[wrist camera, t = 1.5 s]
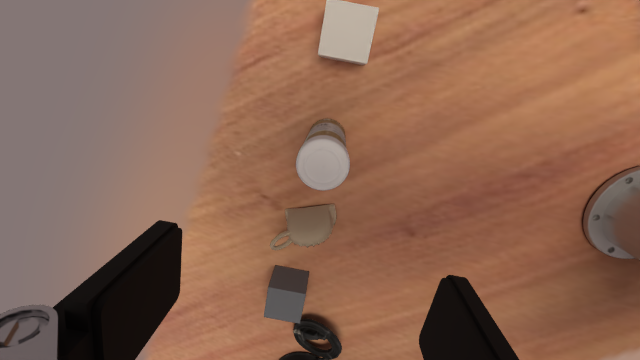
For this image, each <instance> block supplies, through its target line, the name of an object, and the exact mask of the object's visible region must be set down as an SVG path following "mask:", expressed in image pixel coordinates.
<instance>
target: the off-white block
mask: <svg viewBox="0 0 640 360" xmlns="http://www.w3.org/2000/svg"><path fill="white" fill-rule="evenodd" d="M378 11H379V8H377V7H372V6H366V5H361V4H356V3H351V2H346V1H340V0H327V2H326V8H325V14H324V20H323V26H322V32H321V38H320V44H319V50H318V55H319V56H320V57H323V58H328V59H333V60H338V61H344V62H349V63H354V64H359V65H365V64H367V62H368V57H369V53H370V48H371V43H372V39H373V34H374V30H375V25H376V20H377V16H378Z"/></svg>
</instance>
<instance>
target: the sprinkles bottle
mask: <svg viewBox="0 0 640 360" xmlns="http://www.w3.org/2000/svg"><path fill="white" fill-rule="evenodd" d="M349 168H350V159H349V154H348V151H347V149H346V140H345V131H344V129H343V127H342V126H341V124H340V123H338V122H337V121H335V120H333V119H328V118H327V119H322V120H319V121H317V122H316V123H315V124H314V125H313V126H312V128H311V129H310V132H309V134H308V136H307V138H306V140H305V142H304V144H303V145H302V147H301V148H300V150H299V153H298V155H297V159H296V169H297V173H298V175H299V177H300V179H301V180H302V181H303V182H304V183H305V184H306V185H307V186H309V187H311V188H313V189H316V190H330V189H333V188H335V187H337V186H339V185H340V184H341V183H342V182H343V181H344V180H345V179H346V177H347V175H348V172H349Z"/></svg>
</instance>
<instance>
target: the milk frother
mask: <svg viewBox="0 0 640 360" xmlns="http://www.w3.org/2000/svg"><path fill="white" fill-rule="evenodd" d="M293 330H294V331H293V333H294V336H295V339H296V340H297V342H298V343H299V344H300V345H301V346H302V347H303V348H304V349H306V350H308V351H309V352H311V353H313V354H315V355H317V356H320V357H323V358H319V357H317V356H315V355H312V354H310V353H303V352H295V353H290V354H287V355H285V356H284V357H282V358H281V359H280V360H331V359H334V358H337V357H338V356H339V354H340V353H341V350H342V346H341V343H340V341H339V339H338V338H337V336H336V335H335V334H334V333H333V332H332V331H331V330H330V329H328V328H327V327H326V326H324V325H323V324H321V323H319V322H317V321H315V320H312V319H301V320H300V324H299V323H296V324H295V326H294V329H293ZM306 339H308V340H318V339H323V340H325V339H327V340H328V341H329V342H330V344H331V346H332V348H331V349H328V350H323V349H319V348H317V347H315V346H313V345H311V344H310V343H309V342H307V341H306Z"/></svg>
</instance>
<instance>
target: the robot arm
mask: <svg viewBox="0 0 640 360" xmlns="http://www.w3.org/2000/svg"><path fill="white" fill-rule="evenodd" d="M583 227H584V232H585V235H586V237H587V239H588V240H589V242H590V243H591V244H592V245H593V246H594V247H595V248H597V249H598V250H600V251H601V252H603V253H604V254H607V255H609V256H612V257H616V258H620V259H635V258H636V259H638V260H640V166H639V167H635V168H632V169H629V170H626V171H624V172H622V173H620V174H618V175H616V176H615V177H613V178H611V179H610V180H608V181H607V182H606V183H605V184H604V185H602V186H601V187H600V188H599V189H598V190H597V192H596V193H595V194H594V195H593V197H592V198H591V200H590V201H589V203H588V205H587V208H586V210H585V213H584V219H583ZM181 251H182V229H181V228H178V225H177V224H176V223H172V222H166V221H161V220H159V221H157V222H156V223H155V224H154V225H153V226H151V227H150V228H149V229H148V230H146V231H145V232H144V233H143V234H142V235H140V236H139V237H138V238H137V239H135V240H134V241H133V242H132V243H131V244H129V245H128V246H127V247H126V248H125V249H123V250H122V251H121V252H120V253H119V254H117V255H116V256H115V257H114V258H112V259H111V260H110V261H109V262H107V263H106V264H105V265H104V266H103V267H101V268H100V269H99V270H98V271H97V272H95V273H94V274H93V275H92V276H91V277H89V278H88V279H87V280H86V281H84V282H83V283H82V284H81V285H80V286H78V287H77V288H76V289H75V290H74V291H72V292H71V293H70V294H69V295H67V296H66V297H65V298H64V299H63V300H61V301H60V302H59V303H58V304H57V305H55V306H54V307H53V308H51V307H49V306H45V305H29V306H22V307H18V308H15V309H12V310H8V311H6V312H4V313H2V314H0V360H135V359H136V357H137V356H138V355H139V353H140V352H141V350H142V349H143V348H144V346H145V345H146V343H147V342H148V340H149V339H150V338H151V336H152V335H153V333H154V332H155V330H156V329H157V328H158V326H159V325H160V323H161V322H162V321H163V319H164V318H165V316H166V315H167V313H168V312H169V311H170V309H171V308H172V306H173V305H174V303H175V302H176V300H177V299H178V296H179V293H180V277H181ZM419 345H420V349H421V352H422V355H423V358H424V360H519V359H518V357H517V355H516V354H515V352H514V351H513V349H512V348H511V346H510V345H509V343H508V342H507V340H506V338H505V337H504V335H503V334H502V332H501V331H500V329H499V328H498V326H497V324H496V323H495V321H494V320H493V318H492V317H491V315H490V314H489V312H488V311H487V309H486V307H485V306H484V304H483V303H482V301H481V300H480V298H479V297H478V295H477V293H476V292H475V290H474V289H473V287H472V286H471V284H470V283H469V281H468V280H467V279H466V278H464V277H459V276H453V275H448V276H447V277H446V278H442V279H441V281H440V283H439V286H438V289H437V291H436V294H435V296H434V299H433V302H432V304H431V307H430V309H429V312H428V315H427V317H426V320H425V322H424V325H423V328H422V330H421V333H420V336H419Z"/></svg>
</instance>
